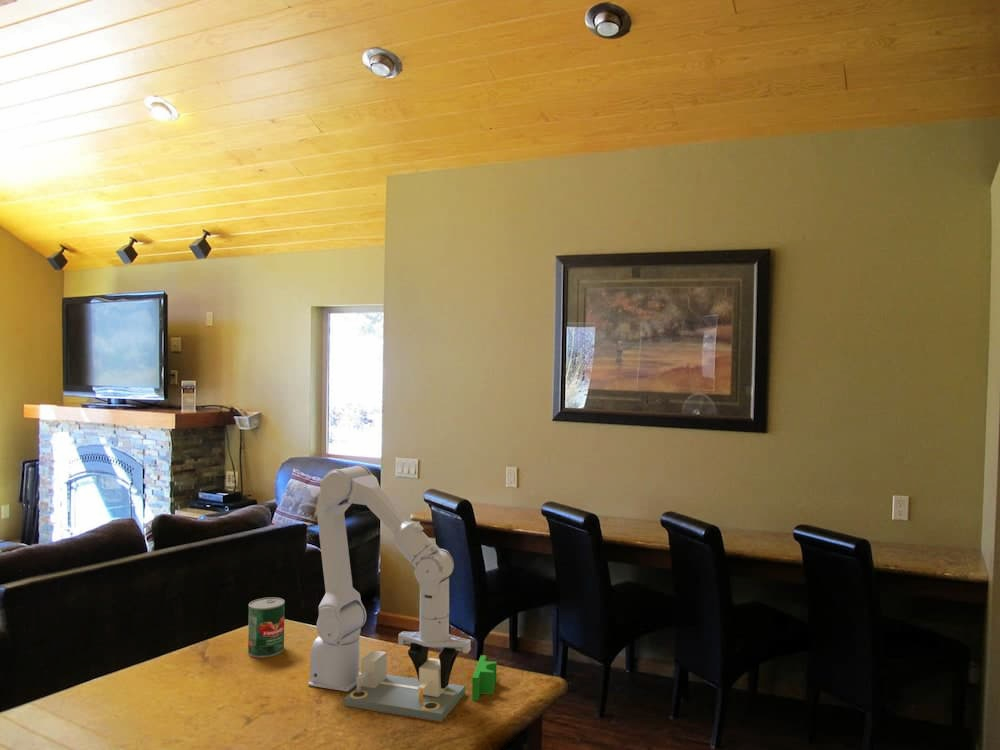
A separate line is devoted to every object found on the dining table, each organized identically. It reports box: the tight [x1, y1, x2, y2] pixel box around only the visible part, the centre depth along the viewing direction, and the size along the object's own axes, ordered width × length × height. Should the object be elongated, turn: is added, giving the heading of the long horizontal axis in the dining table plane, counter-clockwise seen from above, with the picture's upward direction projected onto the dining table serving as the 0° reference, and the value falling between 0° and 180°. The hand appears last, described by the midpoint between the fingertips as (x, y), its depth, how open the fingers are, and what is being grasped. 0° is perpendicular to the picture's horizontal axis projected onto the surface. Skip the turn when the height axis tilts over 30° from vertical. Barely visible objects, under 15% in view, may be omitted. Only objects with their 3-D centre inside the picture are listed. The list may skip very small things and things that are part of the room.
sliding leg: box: [418, 657, 448, 703], centre depth 130 cm, size 4×9×5 cm, turn 162°
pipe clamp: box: [471, 654, 498, 701], centre depth 137 cm, size 11×4×5 cm, turn 173°
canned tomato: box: [247, 596, 286, 659], centre depth 156 cm, size 8×8×11 cm
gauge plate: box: [343, 649, 466, 723], centre depth 132 cm, size 20×12×7 cm, turn 72°
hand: (433, 684), depth 132 cm, fingers closed on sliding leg, 4 cm apart
